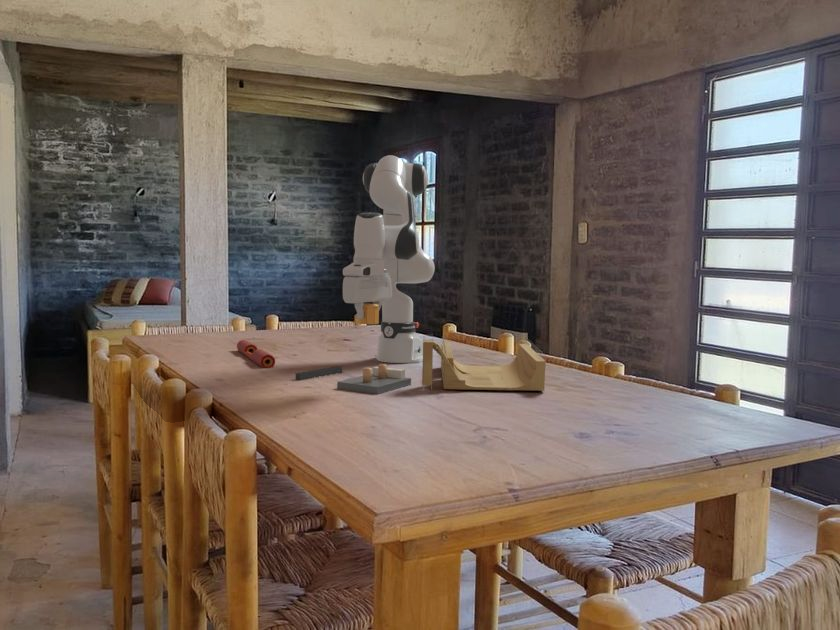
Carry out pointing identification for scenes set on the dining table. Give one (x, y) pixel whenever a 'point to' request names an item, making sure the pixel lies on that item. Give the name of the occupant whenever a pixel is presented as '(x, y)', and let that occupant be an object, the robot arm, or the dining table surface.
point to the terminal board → (376, 380)
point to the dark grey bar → (318, 373)
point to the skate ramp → (486, 370)
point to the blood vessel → (256, 354)
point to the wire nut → (370, 314)
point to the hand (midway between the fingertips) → (368, 317)
